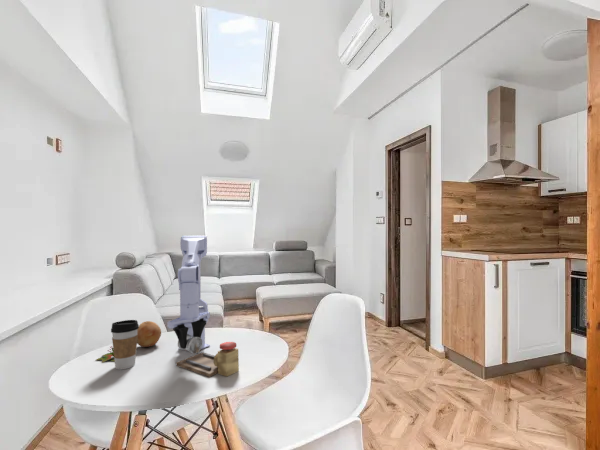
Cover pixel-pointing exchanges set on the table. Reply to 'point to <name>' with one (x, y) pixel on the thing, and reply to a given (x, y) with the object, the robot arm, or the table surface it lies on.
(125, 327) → the coffee cup
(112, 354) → the lily flower
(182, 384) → the table surface
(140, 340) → the onion
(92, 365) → the table surface
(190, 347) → the pipe coupling
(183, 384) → the table surface
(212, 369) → the slider rig
